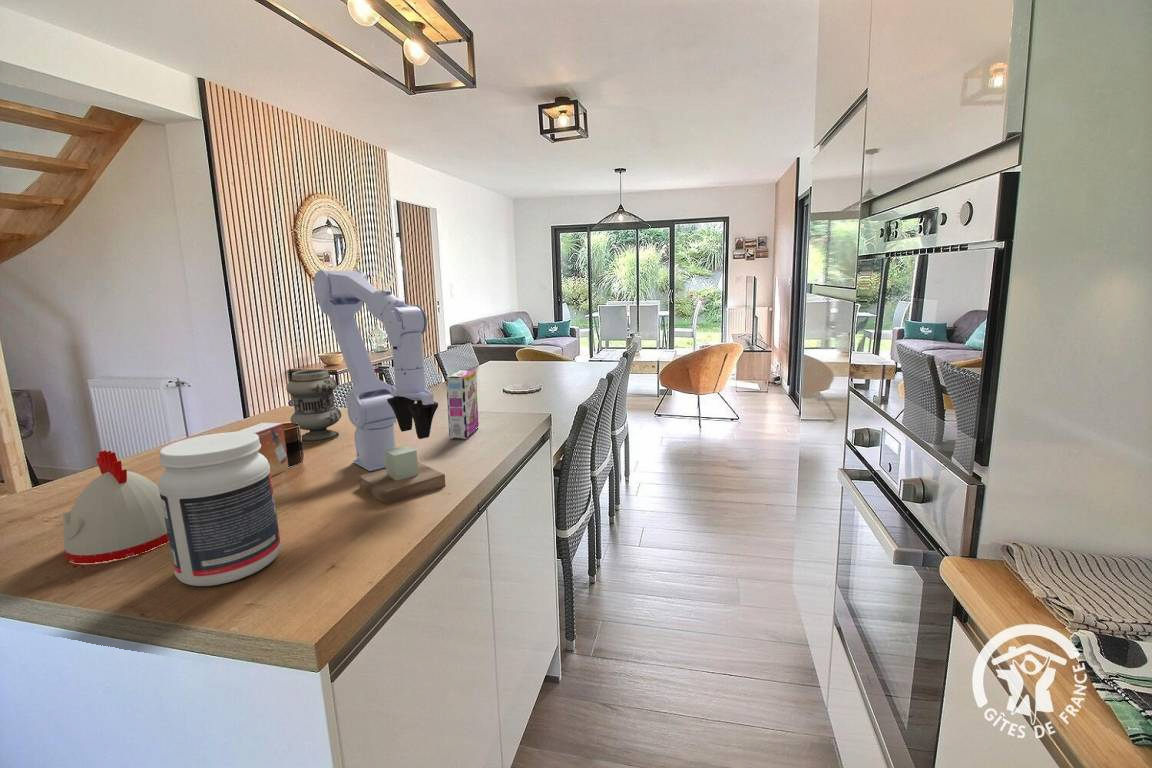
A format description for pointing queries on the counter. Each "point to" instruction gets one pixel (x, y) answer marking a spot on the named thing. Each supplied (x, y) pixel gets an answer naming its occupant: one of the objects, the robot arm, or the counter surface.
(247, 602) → the counter surface
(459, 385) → the candy bar box
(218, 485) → the supplement tub
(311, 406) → the ornate stone vase
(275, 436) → the small box
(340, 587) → the counter surface
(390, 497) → the walnut slab
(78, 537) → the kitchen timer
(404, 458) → the sage block
